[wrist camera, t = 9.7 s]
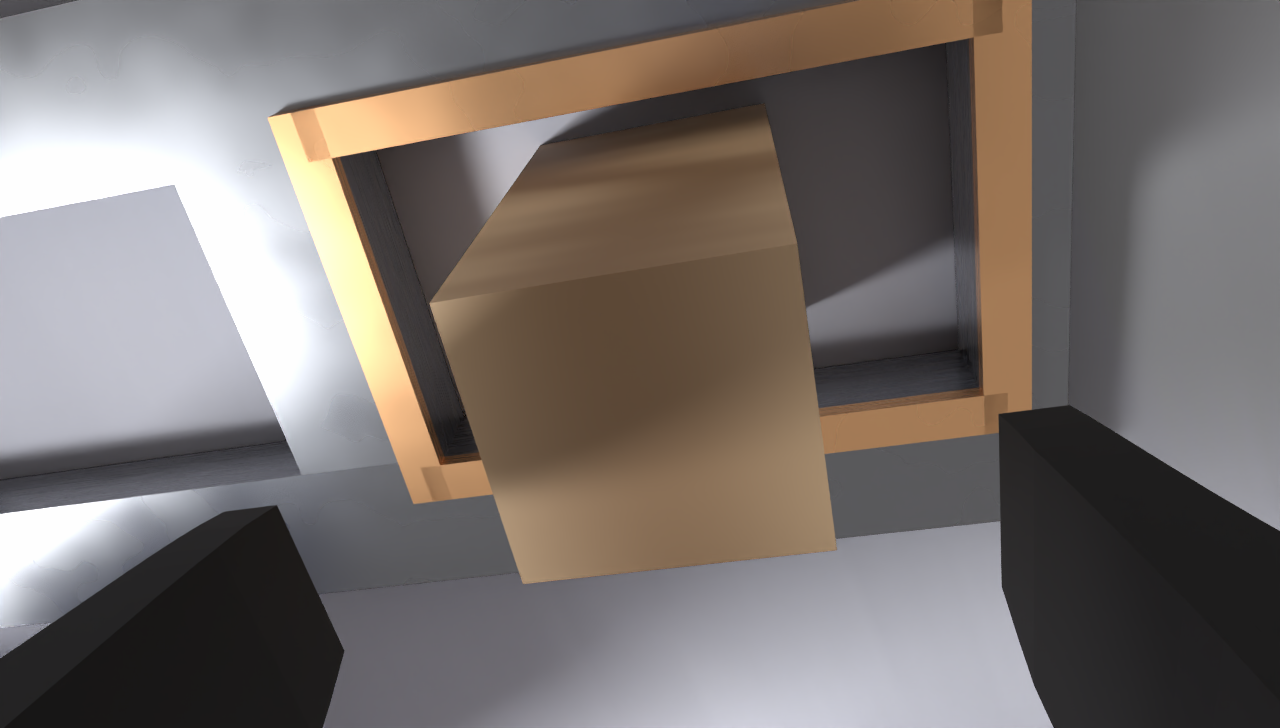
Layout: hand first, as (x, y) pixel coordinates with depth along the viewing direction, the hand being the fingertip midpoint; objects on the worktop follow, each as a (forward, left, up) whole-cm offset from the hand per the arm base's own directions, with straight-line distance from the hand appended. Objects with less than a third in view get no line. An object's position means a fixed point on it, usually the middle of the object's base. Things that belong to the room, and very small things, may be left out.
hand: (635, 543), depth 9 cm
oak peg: (0, 0, -9) cm, 9 cm away
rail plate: (-6, 0, -9) cm, 11 cm away
